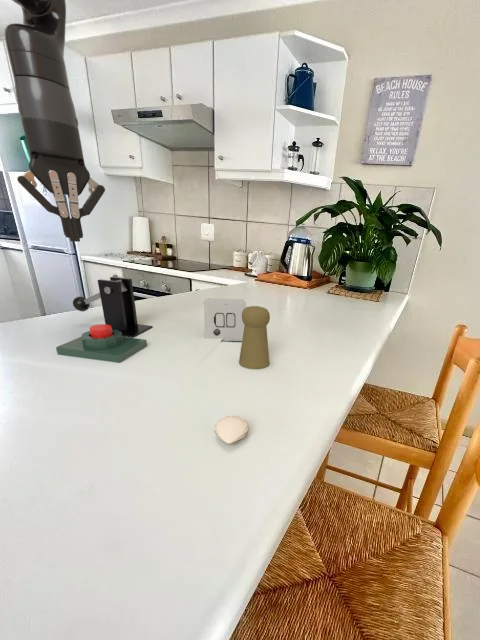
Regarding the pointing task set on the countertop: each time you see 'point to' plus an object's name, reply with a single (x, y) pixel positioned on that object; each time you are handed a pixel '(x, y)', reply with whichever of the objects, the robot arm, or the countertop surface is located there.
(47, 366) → the countertop surface
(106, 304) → the switch bracket
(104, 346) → the button block
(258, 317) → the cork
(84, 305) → the switch lever
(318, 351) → the countertop surface
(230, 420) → the seashell
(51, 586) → the countertop surface
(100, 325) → the push button
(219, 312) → the electrical switch
